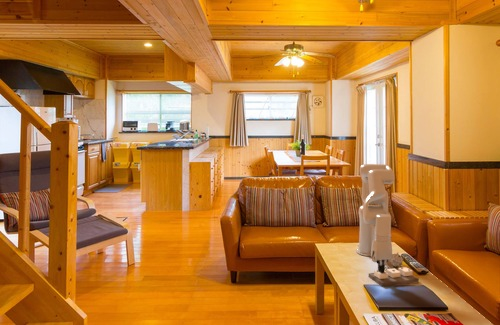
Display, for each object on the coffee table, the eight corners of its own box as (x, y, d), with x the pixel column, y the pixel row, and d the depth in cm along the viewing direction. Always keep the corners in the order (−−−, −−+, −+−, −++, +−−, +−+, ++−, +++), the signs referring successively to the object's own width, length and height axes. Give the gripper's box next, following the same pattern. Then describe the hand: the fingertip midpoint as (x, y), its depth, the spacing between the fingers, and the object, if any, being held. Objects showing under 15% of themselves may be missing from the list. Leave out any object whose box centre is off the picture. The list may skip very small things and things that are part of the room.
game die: (398, 273, 197) (407, 264, 190) (384, 267, 198) (392, 258, 192) (399, 261, 204) (407, 252, 197) (385, 255, 205) (393, 246, 198)
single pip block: (386, 273, 182) (386, 269, 182) (394, 272, 183) (394, 268, 183) (392, 277, 177) (392, 272, 177) (400, 276, 178) (400, 271, 178)
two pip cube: (398, 272, 184) (398, 267, 184) (406, 271, 185) (406, 266, 185) (404, 276, 179) (404, 271, 179) (412, 275, 180) (412, 270, 180)
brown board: (368, 277, 184) (368, 273, 184) (403, 273, 189) (403, 269, 189) (382, 286, 172) (382, 283, 172) (418, 282, 177) (418, 278, 177)
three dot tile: (374, 275, 180) (374, 270, 180) (382, 274, 182) (382, 269, 181) (379, 279, 175) (379, 274, 175) (388, 278, 177) (388, 273, 176)
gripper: (390, 234, 182) (389, 267, 184) (365, 236, 178) (364, 270, 180) (399, 239, 175) (398, 273, 176) (374, 241, 171) (372, 276, 173)
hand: (381, 271), depth 178 cm, fingers closed
